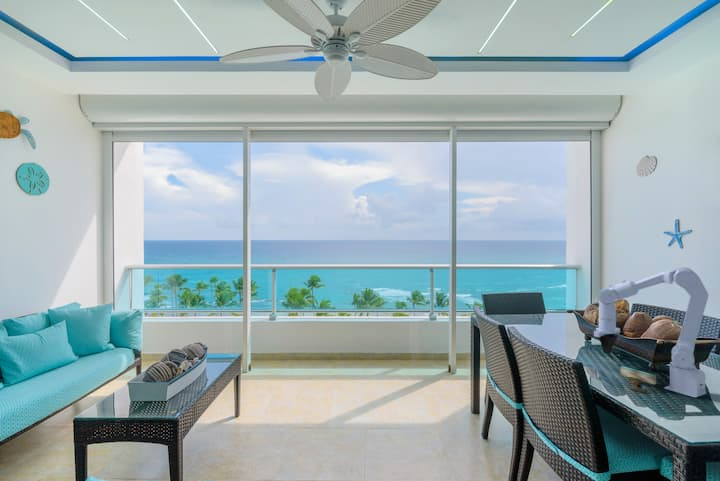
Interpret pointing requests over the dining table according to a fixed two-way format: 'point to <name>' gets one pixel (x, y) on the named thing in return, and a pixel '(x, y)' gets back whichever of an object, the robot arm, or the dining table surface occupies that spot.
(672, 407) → the dining table surface
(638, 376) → the stop rail
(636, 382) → the seahorse
